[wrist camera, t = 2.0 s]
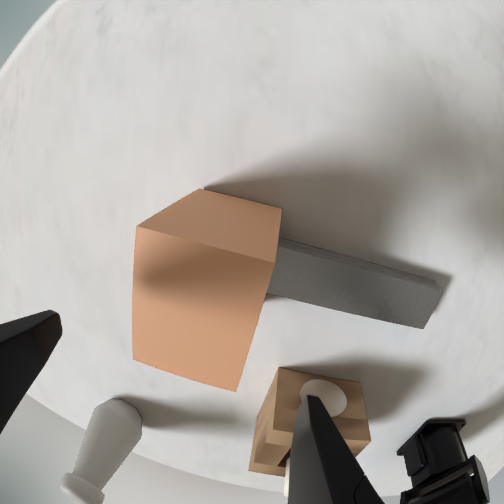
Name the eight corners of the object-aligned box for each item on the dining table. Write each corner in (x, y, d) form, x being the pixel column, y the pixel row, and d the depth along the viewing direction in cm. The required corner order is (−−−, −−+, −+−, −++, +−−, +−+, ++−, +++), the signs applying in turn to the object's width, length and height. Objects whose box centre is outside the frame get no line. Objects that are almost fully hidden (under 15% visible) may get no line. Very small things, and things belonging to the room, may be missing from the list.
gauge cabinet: (362, 380, 21) (373, 438, 16) (327, 429, 24) (329, 480, 19) (279, 364, 22) (273, 426, 16) (257, 417, 24) (248, 470, 19)
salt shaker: (102, 410, 28) (54, 491, 16) (102, 384, 26) (43, 476, 14) (146, 432, 28) (106, 519, 16) (151, 409, 26) (103, 511, 14)
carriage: (282, 209, 17) (274, 262, 10) (255, 304, 20) (235, 392, 12) (199, 188, 17) (136, 225, 10) (183, 284, 20) (133, 359, 13)
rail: (434, 281, 18) (443, 291, 16) (416, 317, 19) (423, 329, 17) (172, 210, 18) (163, 217, 17) (167, 253, 19) (158, 262, 18)
